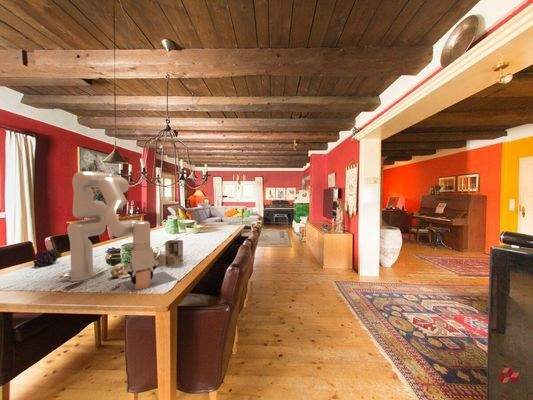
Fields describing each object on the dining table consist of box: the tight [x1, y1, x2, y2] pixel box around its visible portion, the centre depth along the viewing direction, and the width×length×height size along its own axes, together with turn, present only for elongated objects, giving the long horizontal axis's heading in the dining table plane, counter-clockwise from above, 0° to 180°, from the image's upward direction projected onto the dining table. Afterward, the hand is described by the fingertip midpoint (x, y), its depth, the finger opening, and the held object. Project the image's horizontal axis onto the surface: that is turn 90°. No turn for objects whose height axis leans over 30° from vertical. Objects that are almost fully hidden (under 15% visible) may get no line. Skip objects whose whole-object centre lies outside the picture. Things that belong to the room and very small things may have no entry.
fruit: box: [33, 249, 62, 268], centre depth 146 cm, size 10×11×15 cm
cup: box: [134, 268, 151, 289], centre depth 113 cm, size 7×7×8 cm
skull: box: [107, 263, 131, 282], centre depth 126 cm, size 12×10×10 cm
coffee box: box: [164, 239, 184, 268], centre depth 146 cm, size 9×6×16 cm
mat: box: [120, 271, 178, 294], centre depth 120 cm, size 22×18×1 cm
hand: (142, 280), depth 113 cm, fingers closed on cup, 7 cm apart
